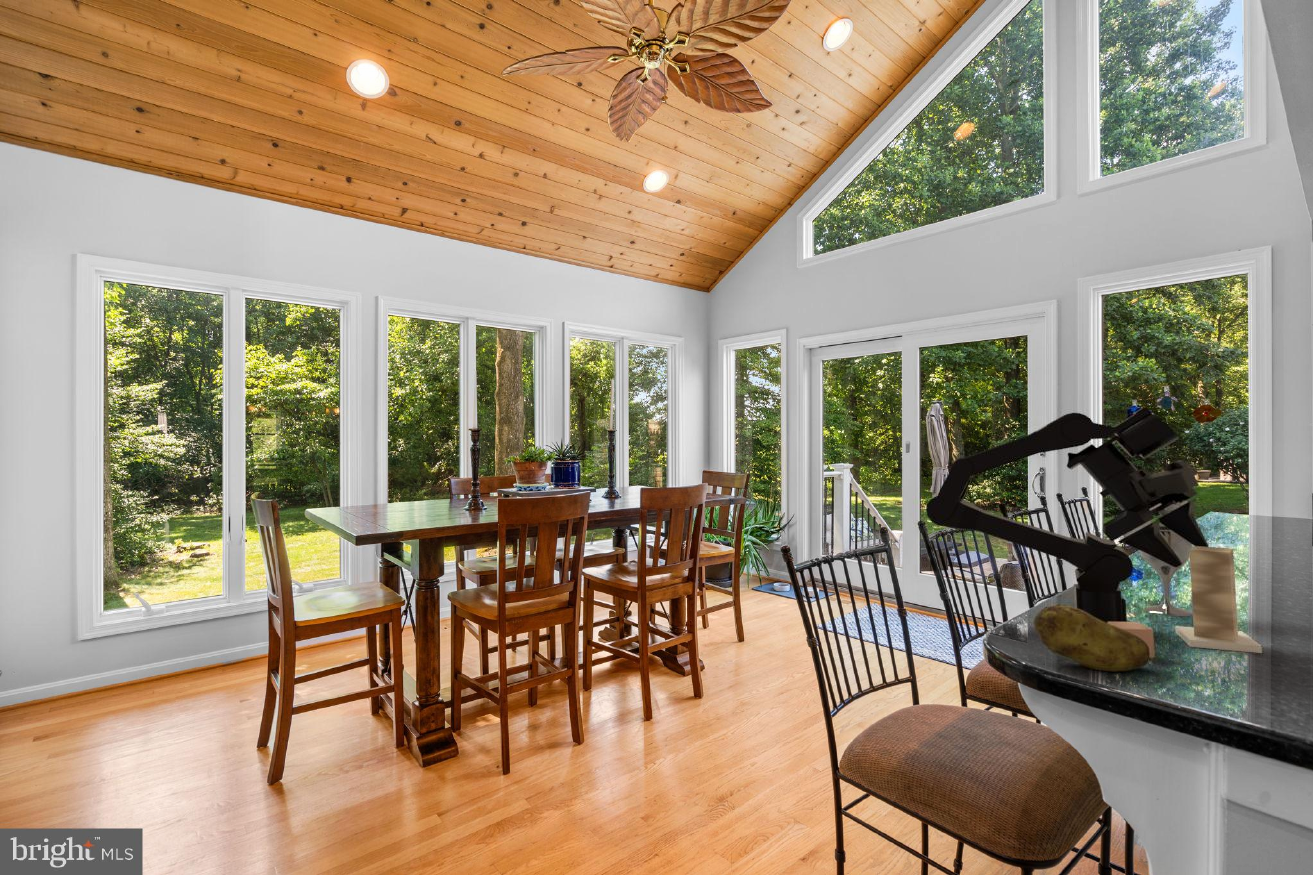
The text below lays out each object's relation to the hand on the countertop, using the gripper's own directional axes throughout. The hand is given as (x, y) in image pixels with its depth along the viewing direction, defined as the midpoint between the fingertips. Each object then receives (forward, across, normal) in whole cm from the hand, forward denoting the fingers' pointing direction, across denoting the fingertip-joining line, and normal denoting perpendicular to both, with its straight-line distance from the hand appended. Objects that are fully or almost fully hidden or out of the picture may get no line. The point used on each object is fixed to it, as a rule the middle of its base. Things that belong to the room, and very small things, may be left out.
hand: (1192, 557), depth 97 cm
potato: (+5, -28, +6) cm, 29 cm away
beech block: (+11, -2, +4) cm, 12 cm away
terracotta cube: (+7, -17, +7) cm, 20 cm away
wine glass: (+7, +12, +16) cm, 21 cm away
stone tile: (+12, -3, +5) cm, 13 cm away
